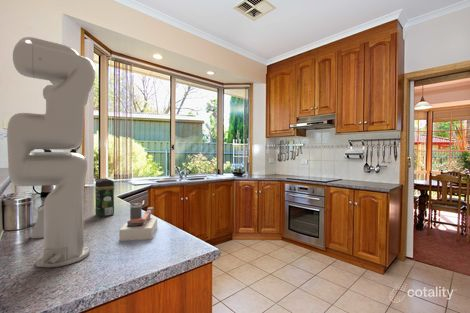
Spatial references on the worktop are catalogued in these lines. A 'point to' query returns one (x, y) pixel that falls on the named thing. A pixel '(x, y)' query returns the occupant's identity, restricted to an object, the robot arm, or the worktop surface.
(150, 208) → the clip
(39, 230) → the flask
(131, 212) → the plug
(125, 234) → the socket block
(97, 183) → the coffee jar
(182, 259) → the worktop surface
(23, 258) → the worktop surface
